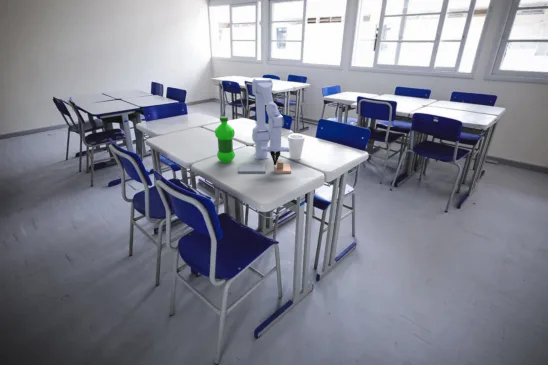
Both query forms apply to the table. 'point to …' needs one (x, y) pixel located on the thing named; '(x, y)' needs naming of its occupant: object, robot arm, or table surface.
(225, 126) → the plastic bottle
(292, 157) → the foam cup
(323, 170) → the table surface
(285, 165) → the stub
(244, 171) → the board
